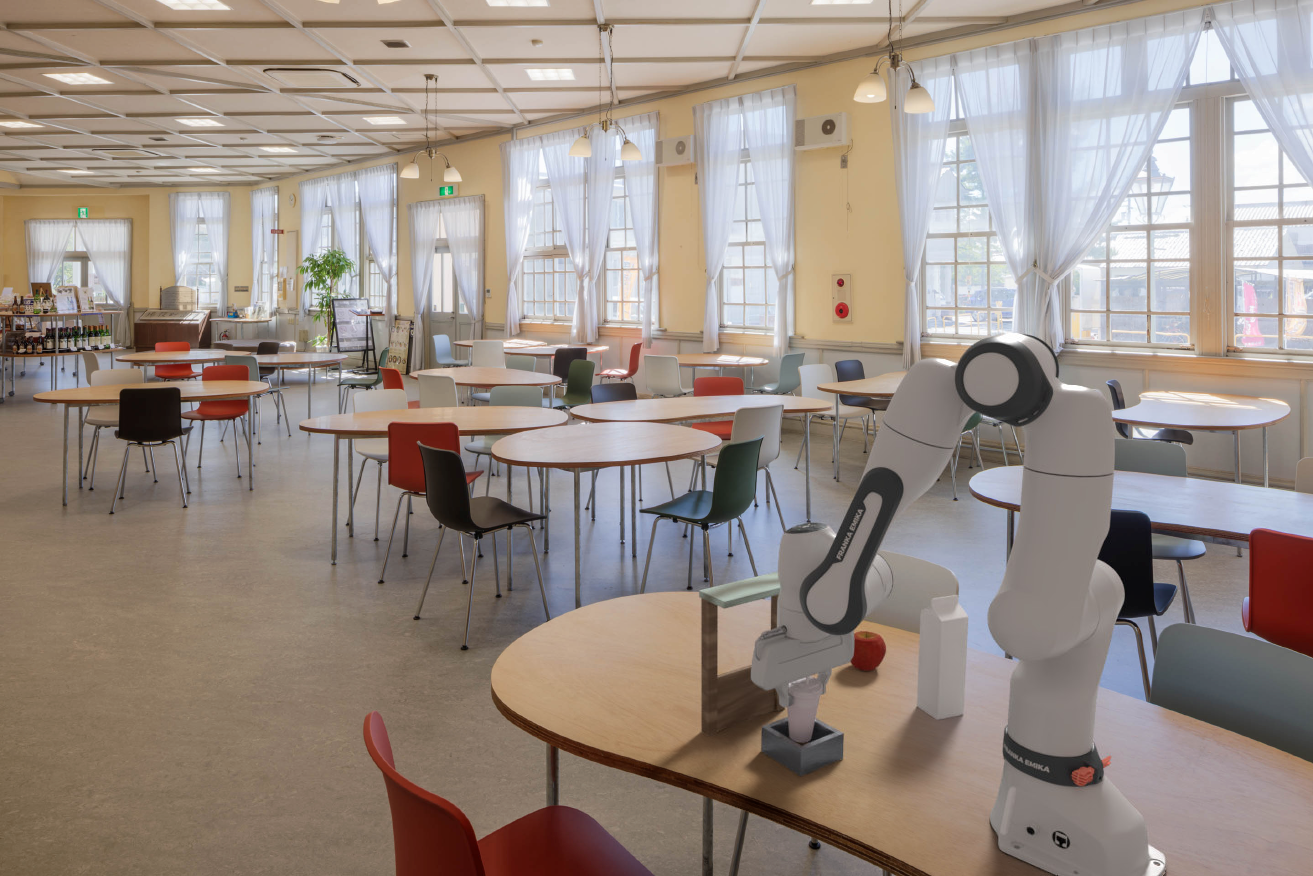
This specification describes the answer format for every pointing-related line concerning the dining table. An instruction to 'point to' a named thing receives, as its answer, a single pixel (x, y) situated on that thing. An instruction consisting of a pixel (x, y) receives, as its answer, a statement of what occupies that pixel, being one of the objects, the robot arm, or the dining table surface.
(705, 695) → the green-topped frame
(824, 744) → the socket
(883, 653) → the apple
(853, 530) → the robot arm
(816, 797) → the dining table surface
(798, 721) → the smoothie
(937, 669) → the milk
